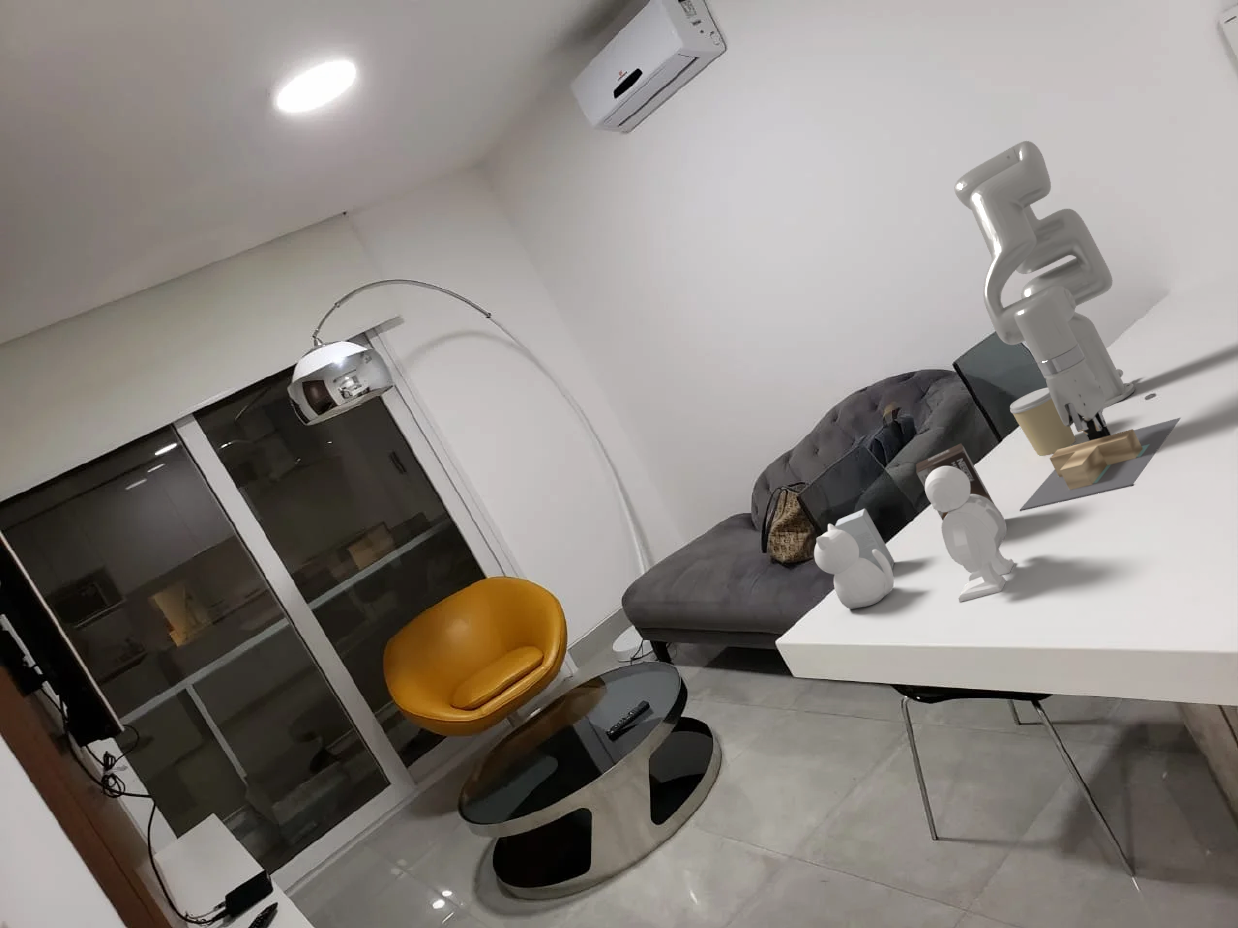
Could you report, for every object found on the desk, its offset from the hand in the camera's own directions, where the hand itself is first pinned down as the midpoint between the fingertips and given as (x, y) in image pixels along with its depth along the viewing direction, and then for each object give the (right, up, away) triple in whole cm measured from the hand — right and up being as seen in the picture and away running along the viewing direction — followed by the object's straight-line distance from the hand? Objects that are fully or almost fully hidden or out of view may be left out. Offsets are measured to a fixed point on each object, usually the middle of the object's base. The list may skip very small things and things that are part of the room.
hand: (1105, 448), depth 164 cm
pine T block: (-5, -4, -5) cm, 8 cm away
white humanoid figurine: (-31, -21, -25) cm, 45 cm away
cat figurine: (-45, -27, -6) cm, 53 cm away
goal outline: (-4, -4, -4) cm, 7 cm away
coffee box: (-25, -16, -4) cm, 29 cm away
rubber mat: (-2, -3, -3) cm, 4 cm away
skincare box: (-40, -24, +6) cm, 47 cm away
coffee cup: (+1, 0, +20) cm, 20 cm away
